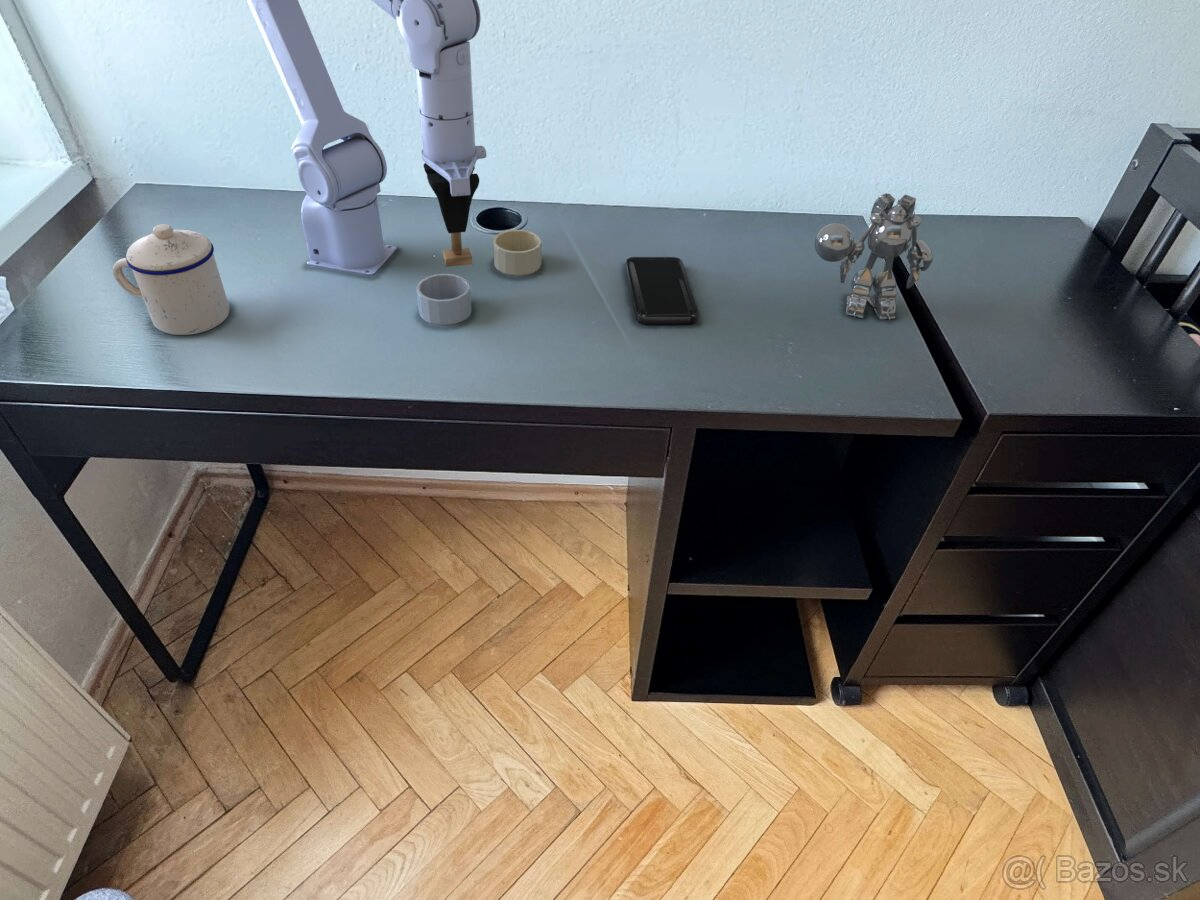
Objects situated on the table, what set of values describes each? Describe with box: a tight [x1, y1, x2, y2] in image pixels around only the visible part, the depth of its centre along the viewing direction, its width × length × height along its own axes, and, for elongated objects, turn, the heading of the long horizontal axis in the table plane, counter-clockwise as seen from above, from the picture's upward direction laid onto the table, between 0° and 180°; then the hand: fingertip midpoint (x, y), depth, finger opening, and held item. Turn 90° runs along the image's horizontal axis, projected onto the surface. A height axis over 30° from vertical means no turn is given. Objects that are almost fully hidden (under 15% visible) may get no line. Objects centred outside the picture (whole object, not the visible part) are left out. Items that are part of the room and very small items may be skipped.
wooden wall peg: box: [442, 232, 473, 268], centre depth 95 cm, size 3×2×7 cm
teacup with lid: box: [112, 223, 231, 336], centre depth 93 cm, size 12×9×12 cm
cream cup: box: [492, 229, 543, 276], centre depth 108 cm, size 6×6×4 cm
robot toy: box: [814, 192, 933, 320], centre depth 101 cm, size 15×6×15 cm, turn 87°
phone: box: [625, 256, 699, 325], centre depth 106 cm, size 8×1×15 cm
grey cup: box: [416, 273, 473, 326], centre depth 99 cm, size 6×6×4 cm
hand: (455, 227), depth 95 cm, fingers closed on wooden wall peg, 1 cm apart
